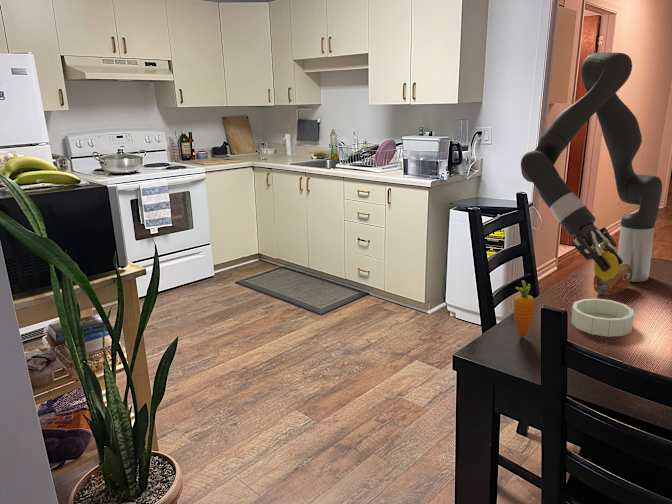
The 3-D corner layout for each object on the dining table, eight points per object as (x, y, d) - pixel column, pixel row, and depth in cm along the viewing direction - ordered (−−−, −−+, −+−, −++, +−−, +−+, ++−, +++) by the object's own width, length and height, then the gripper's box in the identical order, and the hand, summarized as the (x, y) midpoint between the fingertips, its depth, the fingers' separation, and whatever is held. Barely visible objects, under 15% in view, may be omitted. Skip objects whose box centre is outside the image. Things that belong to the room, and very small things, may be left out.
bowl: (592, 309, 142) (593, 294, 141) (643, 326, 131) (645, 310, 130) (560, 322, 136) (561, 307, 134) (610, 341, 124) (612, 324, 123)
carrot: (530, 343, 125) (533, 286, 121) (509, 339, 128) (512, 284, 124) (534, 335, 129) (538, 280, 125) (514, 332, 132) (517, 277, 128)
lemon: (619, 285, 127) (623, 254, 125) (595, 284, 128) (598, 254, 126) (612, 277, 132) (616, 248, 130) (589, 277, 133) (592, 248, 131)
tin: (599, 298, 150) (602, 271, 148) (590, 295, 153) (592, 268, 151) (631, 287, 157) (634, 261, 154) (622, 285, 159) (624, 259, 157)
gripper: (567, 209, 126) (611, 265, 121) (596, 201, 135) (639, 253, 129) (546, 227, 132) (587, 281, 126) (575, 217, 140) (615, 268, 134)
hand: (613, 266), depth 127 cm, fingers closed on lemon, 5 cm apart
